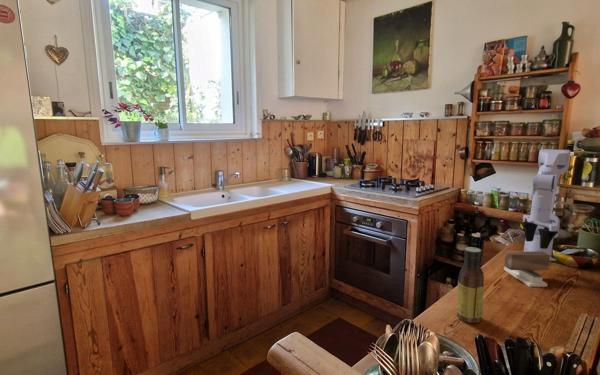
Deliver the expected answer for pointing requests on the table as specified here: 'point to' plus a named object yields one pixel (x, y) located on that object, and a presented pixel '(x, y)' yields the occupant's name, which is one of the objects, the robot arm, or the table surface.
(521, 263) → the walnut batten
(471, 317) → the sauce bottle
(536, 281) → the ridge stand
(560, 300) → the table surface
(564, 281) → the table surface
